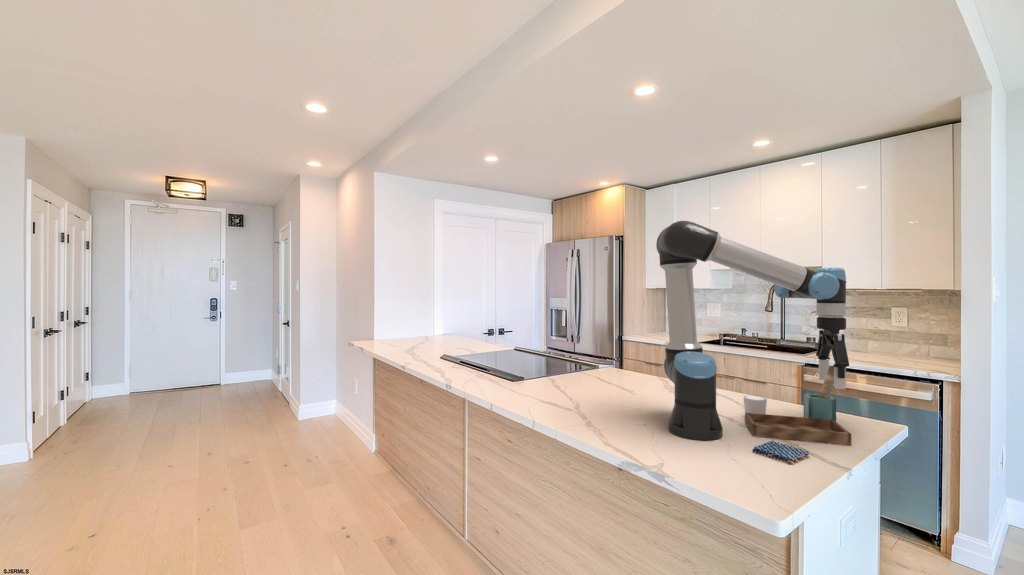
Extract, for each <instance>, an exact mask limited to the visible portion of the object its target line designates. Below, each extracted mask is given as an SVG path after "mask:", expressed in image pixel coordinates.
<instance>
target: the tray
mask: <svg viewBox="0 0 1024 575" xmlns="http://www.w3.org/2000/svg"><path fill="white" fill-rule="evenodd" d="M744 423H745V425H746V427H747V426H748V427H747V428H748V430H749V431H750V433H751V434H752V436H753V437H755V438H765V437H766V438H767V439H768V438H769V439H775V438H776V439H777V440H787V441H796V440H798V442H807V441H808V442H807V443H817V444H828V443H831V444H830V445H838V444H841V445H840V446H848V445H849V446H850V447H851V446H852V433H851V432H850V431H848V429H846V428H844V427H843V426H842V425H841V424H839V423H838V422H837V421H836V422H835V421H834V420H830V419H818V418H805V417H804V416H803V417H801V416H793V415H792V416H790V415H778V414H766V413H765V414H756V413H745V412H744Z"/></svg>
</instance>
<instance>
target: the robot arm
mask: <svg viewBox="0 0 1024 575" xmlns="http://www.w3.org/2000/svg"><path fill="white" fill-rule="evenodd" d="M655 245H656V251H657V253H658V255H659V256H658V257H659V258H658V259H659V267H660V268H661V269H662V270H663V271H664V274H665V291H666V305H667V321H668V337H669V338H668V339H669V340H668V343H667V344H666V345H665V346H664V348H665V349H664V350H665V351H664V352H665V359H664V363H663V369H664V373H665V375H666V377H667V378H668V379H669V381H670V382H672V383H673V384H674V404H673V408H672V411H671V414H670V416H669V419H668V431H669V432H670V433H671V434H673V435H675V436H679V437H681V438H685V439H691V440H696V441H697V440H698V441H711V440H713V441H714V440H718V439H720V438H722V437H723V435H724V433H723V432H724V431H723V430H724V429H723V428H724V427H723V424H722V421H721V418H720V416H719V413H718V410H717V371H718V367H717V362H716V358H715V357H714V356H712V355H711V354H708V353H704V352H703V346H702V344H700V343H699V342H698V338H697V335H698V334H697V319H696V318H697V317H696V305H695V304H696V302H695V290H694V289H695V288H694V275H693V273H694V272H693V271H694V270H693V269H694V268H695V267H696V266H697V264H698V261H701V262H704V263H705V262H708V261H710V262H714V263H716V264H719V265H721V266H723V267H724V266H725V267H727V268H730V269H733V270H736V271H738V272H741V273H744V274H745V275H749V276H751V277H755V278H757V279H759V280H763V281H765V282H767V283H770V284H773V289H774V294H775V296H777V297H778V298H781V299H810V300H816V303H815V304H816V312H815V313H816V315H817V318H816V328H817V329H818V330H819V331H818V332H819V334H818V336H819V337H818V342H817V347H816V353H815V356H816V357H817V359H818V380H821V381H824V380H825V378H826V375H827V372H828V369H829V366H830V360H831V358H830V355H831V354H832V357H833V360H834V363H833V365H832V366H833V367H834V386H833V388H834V389H836V390H838V389H839V390H846V389H847V380H846V379H847V376H846V375H847V374H846V373H847V367H849V366H850V361H849V356H848V351H847V345H846V341H845V340H846V339H845V336H846V335H845V334H844V333H840V331H844V330H847V319H846V317H845V316H846V315H847V310H848V306H847V295H846V294H847V276H846V271H845V268H843V267H819V268H817V269H816V271H815V270H812V269H810V268H807V267H805V266H802V265H798V264H797V263H793V262H790V261H788V260H785V259H782V258H779V257H777V256H774V255H771V254H768V253H767V252H764V251H761V250H758V249H755V248H753V247H749V246H746V245H744V244H741V243H739V242H736V241H733V240H731V239H727V238H726V237H725V238H724V237H722V236H721V234H720V232H718V231H716V230H713V229H711V228H708V227H705V226H703V225H700V224H697V223H696V222H693V221H688V220H678V221H675V222H672V223H671V224H670V225H668V226H667V227H665V228H664V229H662V231H661V232H660V233H659V235H658V236H657V239H656V244H655ZM830 353H831V354H830Z"/></svg>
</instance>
